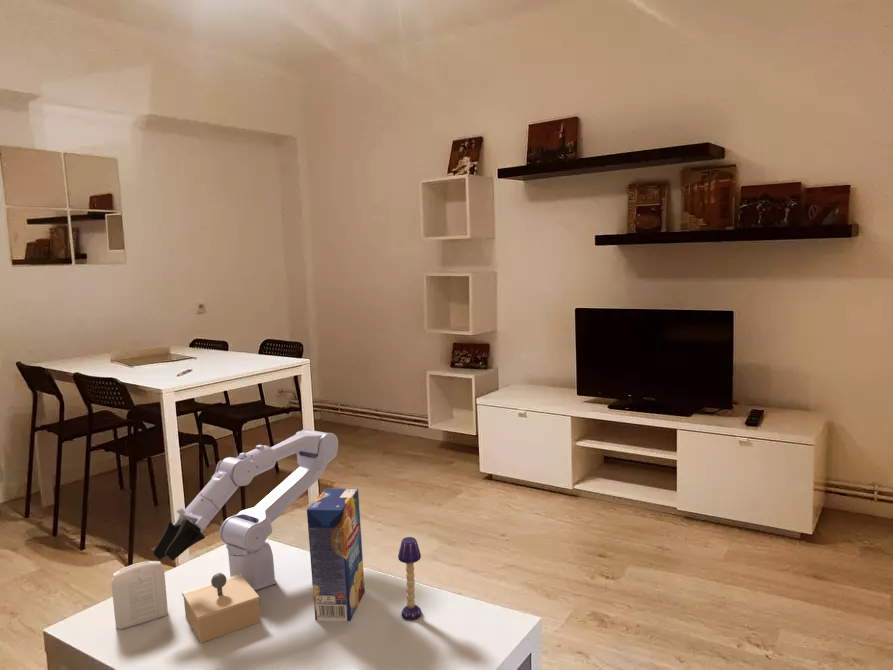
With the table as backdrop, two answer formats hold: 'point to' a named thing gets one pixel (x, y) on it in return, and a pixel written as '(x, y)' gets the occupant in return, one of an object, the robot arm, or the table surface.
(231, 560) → the robot arm
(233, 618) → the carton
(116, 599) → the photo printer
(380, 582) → the table surface
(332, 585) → the juice carton
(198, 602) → the lid
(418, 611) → the toy lamp
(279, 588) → the table surface
